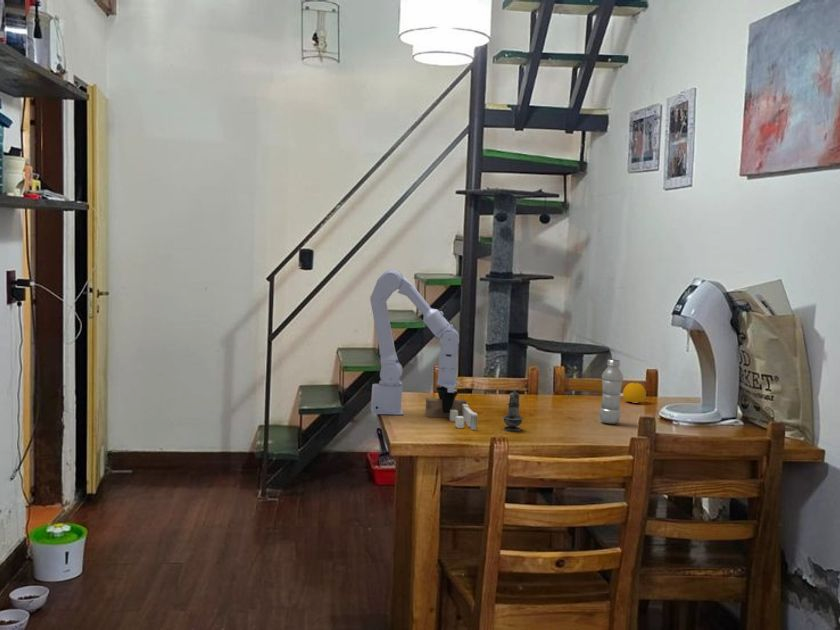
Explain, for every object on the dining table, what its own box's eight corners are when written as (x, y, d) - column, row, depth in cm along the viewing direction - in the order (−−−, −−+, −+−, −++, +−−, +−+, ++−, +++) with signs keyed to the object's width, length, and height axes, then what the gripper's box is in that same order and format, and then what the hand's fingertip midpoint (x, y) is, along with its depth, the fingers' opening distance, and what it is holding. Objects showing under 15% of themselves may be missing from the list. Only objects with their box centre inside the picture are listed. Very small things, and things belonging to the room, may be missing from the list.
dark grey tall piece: (519, 427, 241) (521, 387, 240) (524, 432, 235) (527, 391, 234) (499, 427, 240) (502, 386, 239) (505, 431, 234) (508, 390, 233)
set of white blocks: (457, 429, 233) (458, 414, 233) (448, 418, 248) (449, 403, 248) (476, 429, 234) (477, 414, 234) (466, 418, 249) (467, 404, 249)
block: (426, 416, 248) (427, 400, 248) (425, 414, 252) (426, 398, 251) (465, 417, 250) (466, 401, 250) (463, 415, 254) (464, 399, 253)
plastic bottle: (609, 426, 249) (614, 361, 247) (593, 421, 254) (598, 358, 253) (624, 425, 252) (629, 361, 250) (608, 420, 258) (613, 358, 256)
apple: (629, 405, 286) (630, 384, 286) (618, 400, 294) (620, 380, 293) (649, 405, 288) (651, 384, 288) (638, 400, 296) (640, 380, 295)
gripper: (465, 372, 243) (462, 416, 244) (456, 364, 257) (453, 406, 259) (442, 371, 242) (439, 416, 243) (434, 364, 256) (432, 406, 258)
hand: (445, 411), depth 251 cm, fingers closed on block, 3 cm apart
